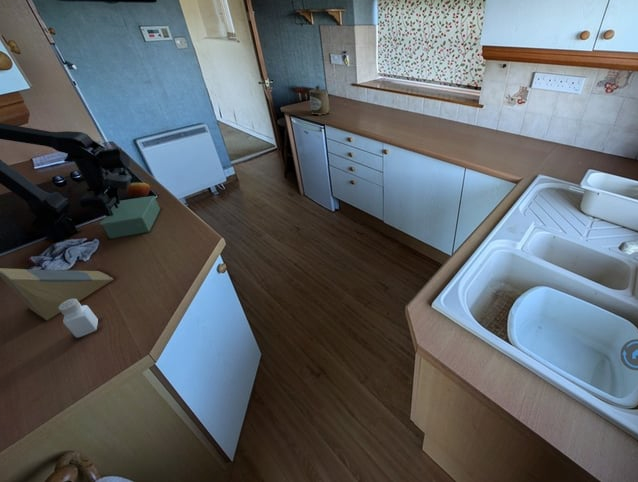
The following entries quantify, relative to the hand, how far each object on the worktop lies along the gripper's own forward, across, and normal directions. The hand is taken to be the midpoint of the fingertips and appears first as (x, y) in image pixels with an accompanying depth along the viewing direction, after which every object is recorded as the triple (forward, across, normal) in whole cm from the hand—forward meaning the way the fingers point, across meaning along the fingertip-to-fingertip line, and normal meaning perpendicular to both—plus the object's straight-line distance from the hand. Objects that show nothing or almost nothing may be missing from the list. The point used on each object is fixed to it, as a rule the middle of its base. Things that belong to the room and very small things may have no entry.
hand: (113, 209), depth 105 cm
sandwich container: (+7, -33, +1) cm, 34 cm away
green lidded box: (+7, 0, -4) cm, 8 cm away
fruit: (+7, +22, 0) cm, 23 cm away
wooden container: (+7, +128, -97) cm, 161 cm away
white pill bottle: (+7, -48, -7) cm, 49 cm away
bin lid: (+1, 0, -4) cm, 4 cm away
